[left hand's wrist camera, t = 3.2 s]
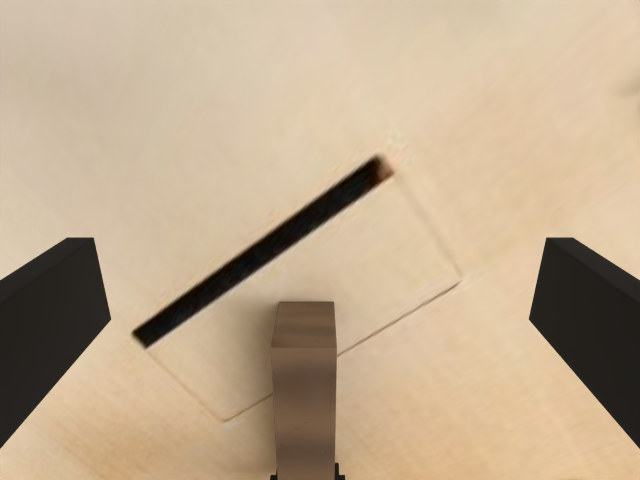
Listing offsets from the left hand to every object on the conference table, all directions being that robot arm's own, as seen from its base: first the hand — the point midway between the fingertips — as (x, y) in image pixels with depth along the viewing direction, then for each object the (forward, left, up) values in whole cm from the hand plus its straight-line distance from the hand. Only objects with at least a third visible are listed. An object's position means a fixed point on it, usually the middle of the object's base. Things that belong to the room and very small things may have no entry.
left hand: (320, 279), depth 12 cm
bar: (+28, -1, -27) cm, 39 cm away
